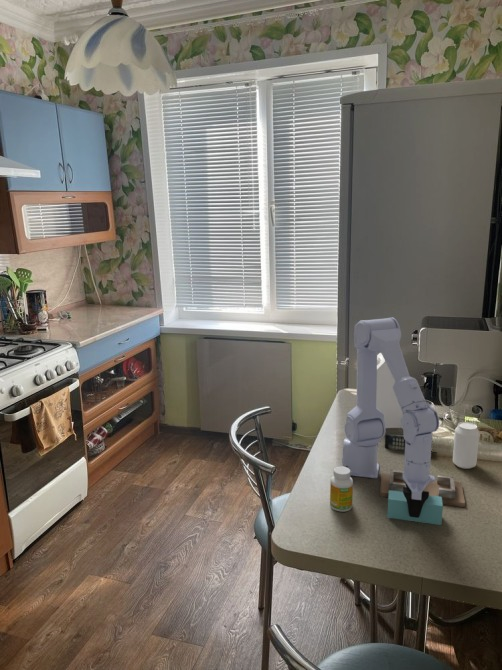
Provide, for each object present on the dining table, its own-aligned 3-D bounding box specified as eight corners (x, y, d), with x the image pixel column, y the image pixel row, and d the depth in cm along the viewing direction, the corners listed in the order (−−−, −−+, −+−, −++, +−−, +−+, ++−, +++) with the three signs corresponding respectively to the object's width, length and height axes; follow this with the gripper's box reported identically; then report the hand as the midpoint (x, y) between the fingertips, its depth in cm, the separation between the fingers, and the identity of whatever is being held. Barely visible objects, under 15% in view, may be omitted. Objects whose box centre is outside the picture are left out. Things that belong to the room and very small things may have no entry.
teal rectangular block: (387, 517, 122) (388, 499, 121) (387, 508, 126) (388, 490, 124) (441, 525, 119) (442, 506, 118) (440, 515, 122) (441, 496, 121)
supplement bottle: (338, 514, 123) (339, 477, 121) (325, 503, 128) (326, 468, 126) (356, 508, 126) (358, 472, 123) (343, 497, 130) (344, 462, 128)
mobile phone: (384, 435, 155) (438, 440, 150) (385, 430, 157) (438, 436, 152) (384, 450, 156) (437, 456, 151) (385, 445, 159) (437, 451, 154)
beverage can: (478, 471, 142) (482, 430, 139) (454, 469, 143) (457, 429, 140) (473, 460, 148) (477, 421, 145) (450, 458, 149) (453, 420, 146)
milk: (405, 427, 170) (409, 351, 163) (370, 428, 170) (373, 352, 164) (395, 413, 182) (399, 342, 175) (362, 413, 182) (365, 342, 175)
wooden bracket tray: (380, 495, 131) (380, 485, 130) (381, 476, 140) (382, 466, 139) (464, 506, 125) (465, 495, 125) (460, 485, 135) (461, 475, 134)
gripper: (437, 476, 111) (433, 531, 114) (434, 446, 124) (430, 496, 127) (403, 471, 113) (400, 526, 116) (403, 443, 126) (400, 492, 129)
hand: (413, 510), depth 122 cm, fingers closed on teal rectangular block, 4 cm apart
